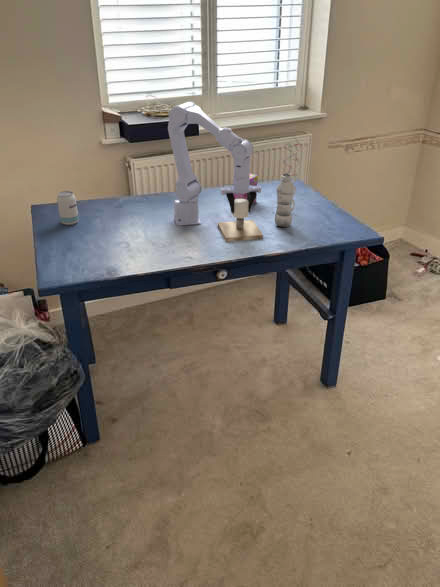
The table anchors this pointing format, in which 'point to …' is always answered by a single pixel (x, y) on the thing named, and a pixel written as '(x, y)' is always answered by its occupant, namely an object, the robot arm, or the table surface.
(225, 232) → the stud base
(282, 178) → the plastic bottle
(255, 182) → the box
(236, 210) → the cap
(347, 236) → the table surface
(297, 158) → the dna model
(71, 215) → the beverage can
